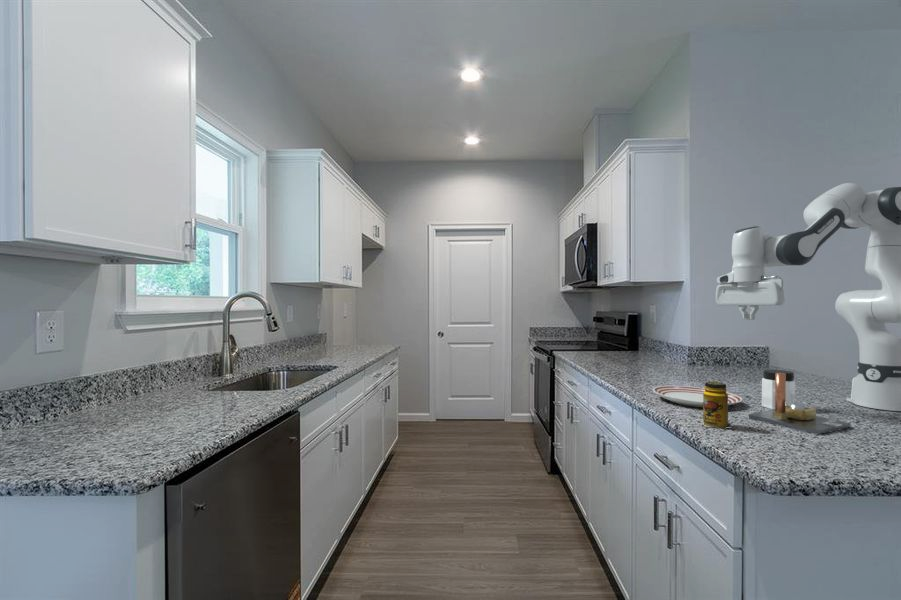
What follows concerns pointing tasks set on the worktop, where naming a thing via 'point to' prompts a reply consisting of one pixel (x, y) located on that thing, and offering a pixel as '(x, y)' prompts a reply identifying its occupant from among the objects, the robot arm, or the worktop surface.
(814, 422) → the post base
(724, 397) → the condiment
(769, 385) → the jar
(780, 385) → the copper and beige l-shape
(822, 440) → the worktop surface
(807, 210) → the robot arm
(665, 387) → the dinner plate
